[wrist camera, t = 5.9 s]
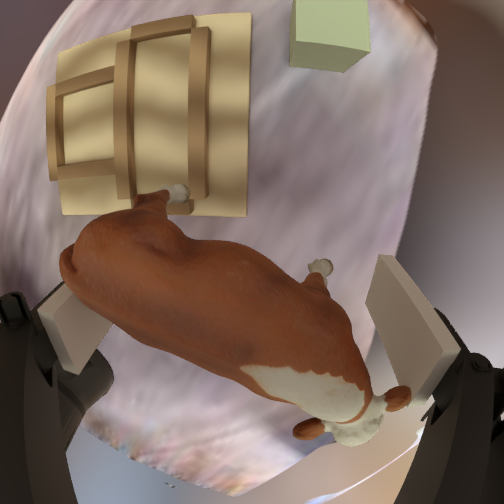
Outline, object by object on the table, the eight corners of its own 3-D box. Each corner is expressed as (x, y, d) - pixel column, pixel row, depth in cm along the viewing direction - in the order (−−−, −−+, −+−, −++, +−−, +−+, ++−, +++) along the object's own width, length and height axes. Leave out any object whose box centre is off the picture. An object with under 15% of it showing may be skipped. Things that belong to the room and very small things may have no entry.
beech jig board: (246, 214, 27) (244, 222, 25) (67, 212, 28) (55, 219, 26) (251, 16, 19) (249, 6, 17) (63, 54, 20) (50, 51, 18)
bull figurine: (333, 345, 16) (356, 467, 8) (126, 226, 13) (19, 320, 6) (383, 293, 14) (444, 413, 7) (161, 150, 12) (30, 191, 4)
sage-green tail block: (343, 72, 21) (370, 51, 13) (289, 66, 21) (295, 40, 14) (342, 28, 19) (366, -5, 11) (289, 21, 19) (295, -16, 12)
